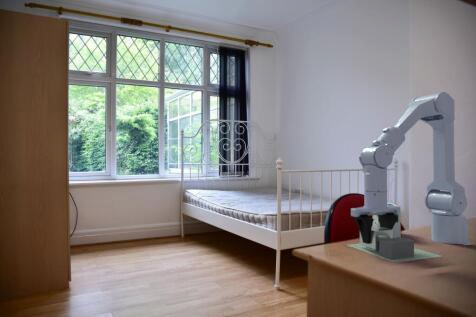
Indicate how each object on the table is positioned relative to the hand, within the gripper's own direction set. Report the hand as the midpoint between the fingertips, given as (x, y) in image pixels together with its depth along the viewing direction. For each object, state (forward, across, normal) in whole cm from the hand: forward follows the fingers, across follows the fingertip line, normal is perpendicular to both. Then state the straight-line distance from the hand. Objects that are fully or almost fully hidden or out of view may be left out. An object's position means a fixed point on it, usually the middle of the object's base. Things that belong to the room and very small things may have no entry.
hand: (375, 242), depth 94 cm
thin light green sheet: (+3, -3, +2) cm, 5 cm away
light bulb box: (+3, -16, -14) cm, 21 cm away
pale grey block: (+1, 0, 0) cm, 1 cm away
